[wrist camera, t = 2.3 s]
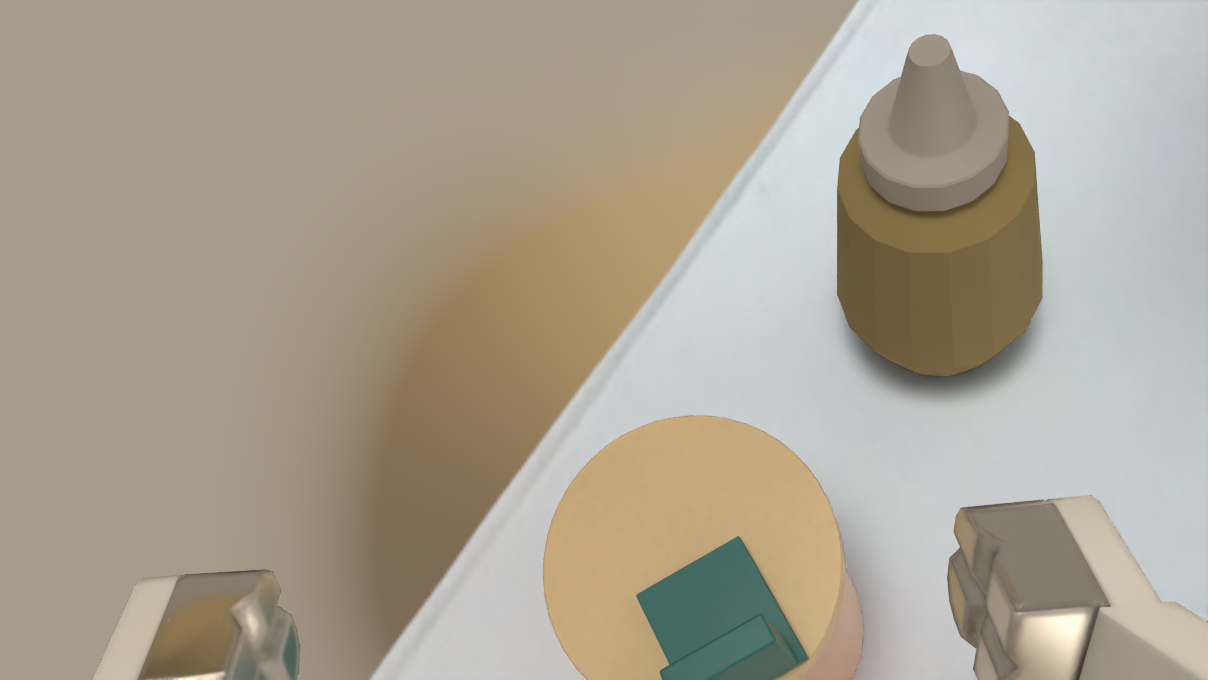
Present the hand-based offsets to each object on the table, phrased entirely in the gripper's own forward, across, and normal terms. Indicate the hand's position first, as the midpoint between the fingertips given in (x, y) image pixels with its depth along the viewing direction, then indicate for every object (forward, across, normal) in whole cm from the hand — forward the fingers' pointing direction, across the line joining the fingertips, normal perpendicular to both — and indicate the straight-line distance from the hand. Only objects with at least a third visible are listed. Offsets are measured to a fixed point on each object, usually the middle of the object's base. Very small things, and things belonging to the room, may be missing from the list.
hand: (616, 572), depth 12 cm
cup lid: (+14, -2, +15) cm, 21 cm away
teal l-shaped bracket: (+11, -2, +15) cm, 19 cm away
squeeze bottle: (+29, -14, +17) cm, 36 cm away
